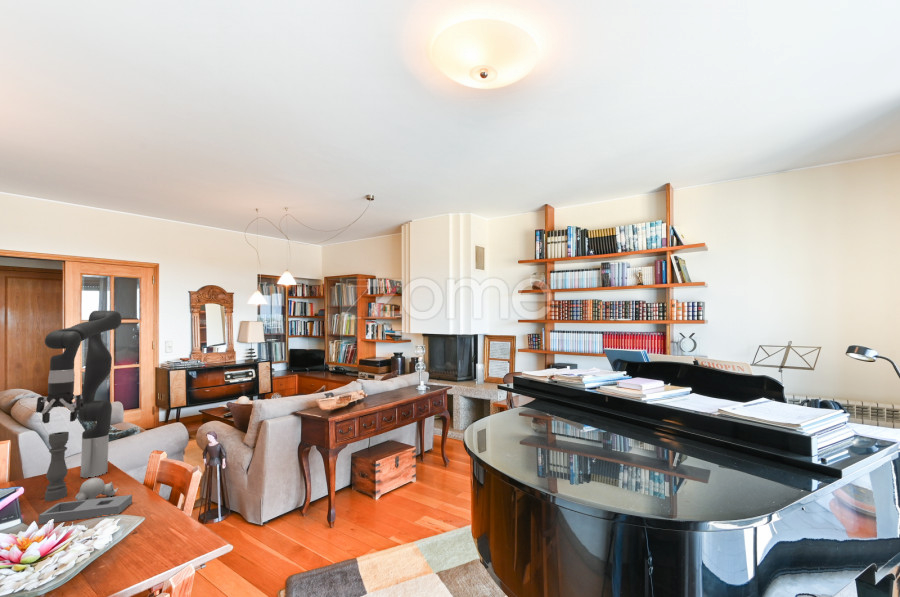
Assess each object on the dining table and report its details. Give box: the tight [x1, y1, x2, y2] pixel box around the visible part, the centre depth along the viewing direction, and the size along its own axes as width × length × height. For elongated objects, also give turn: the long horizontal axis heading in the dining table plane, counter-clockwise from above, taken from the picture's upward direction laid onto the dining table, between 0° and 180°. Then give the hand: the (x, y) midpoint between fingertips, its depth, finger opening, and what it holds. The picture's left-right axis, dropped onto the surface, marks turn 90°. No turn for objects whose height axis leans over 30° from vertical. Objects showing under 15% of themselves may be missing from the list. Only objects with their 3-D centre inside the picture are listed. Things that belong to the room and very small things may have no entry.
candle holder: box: [44, 431, 70, 502], centre depth 159 cm, size 6×6×25 cm
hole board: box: [38, 494, 133, 525], centre depth 145 cm, size 10×23×3 cm, turn 106°
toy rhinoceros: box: [74, 477, 119, 501], centre depth 157 cm, size 7×12×8 cm, turn 138°
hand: (59, 422), depth 160 cm, fingers open, 8 cm apart
